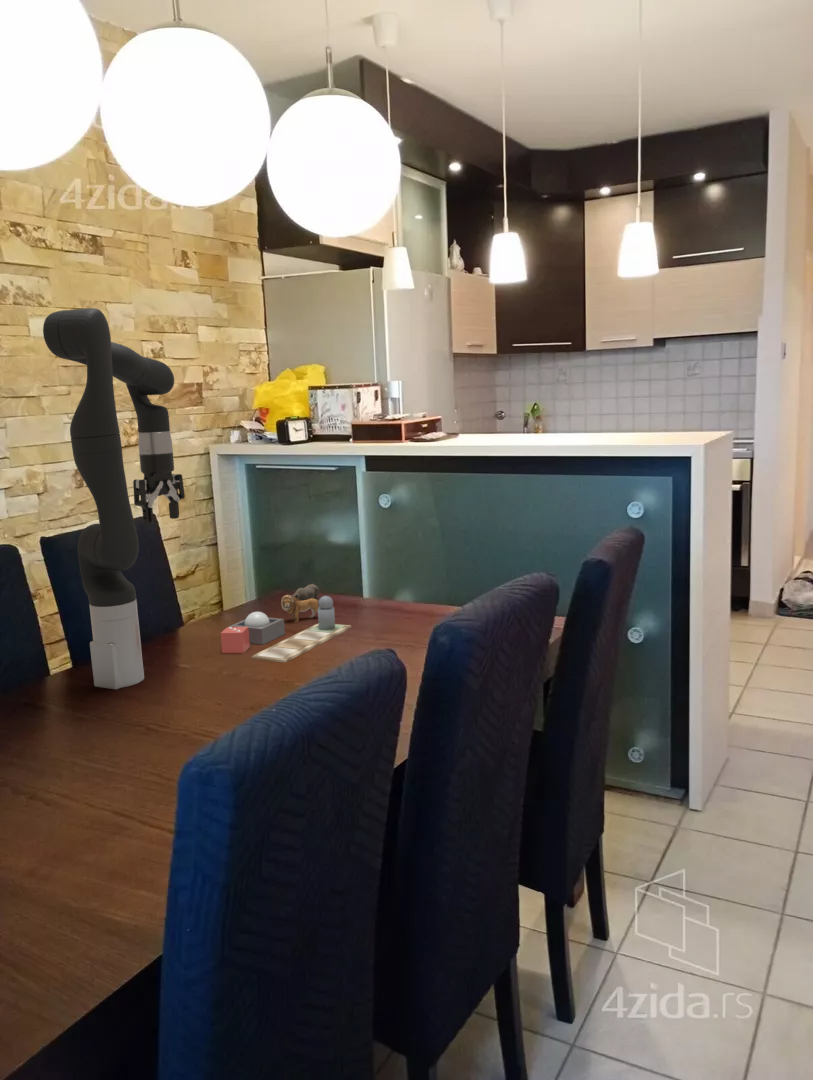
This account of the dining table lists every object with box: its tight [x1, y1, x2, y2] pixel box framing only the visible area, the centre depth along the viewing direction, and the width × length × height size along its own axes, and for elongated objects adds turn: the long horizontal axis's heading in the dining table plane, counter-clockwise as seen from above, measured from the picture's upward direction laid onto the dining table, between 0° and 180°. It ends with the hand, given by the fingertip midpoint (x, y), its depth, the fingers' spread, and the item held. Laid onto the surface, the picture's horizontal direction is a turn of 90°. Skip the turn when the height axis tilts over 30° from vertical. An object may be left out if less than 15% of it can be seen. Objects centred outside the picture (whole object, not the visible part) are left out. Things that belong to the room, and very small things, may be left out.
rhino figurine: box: [289, 583, 320, 601], centre depth 235 cm, size 4×14×6 cm, turn 152°
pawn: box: [317, 595, 336, 630], centre depth 211 cm, size 4×4×8 cm
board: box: [250, 623, 352, 664], centre depth 203 cm, size 29×9×1 cm, turn 154°
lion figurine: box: [280, 594, 319, 623], centre depth 223 cm, size 12×4×7 cm, turn 117°
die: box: [220, 626, 251, 654], centre depth 199 cm, size 5×5×5 cm
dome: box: [244, 611, 270, 628], centre depth 208 cm, size 6×6×6 cm
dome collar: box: [229, 617, 286, 645], centre depth 208 cm, size 9×9×4 cm
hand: (162, 520), depth 203 cm, fingers open, 8 cm apart
